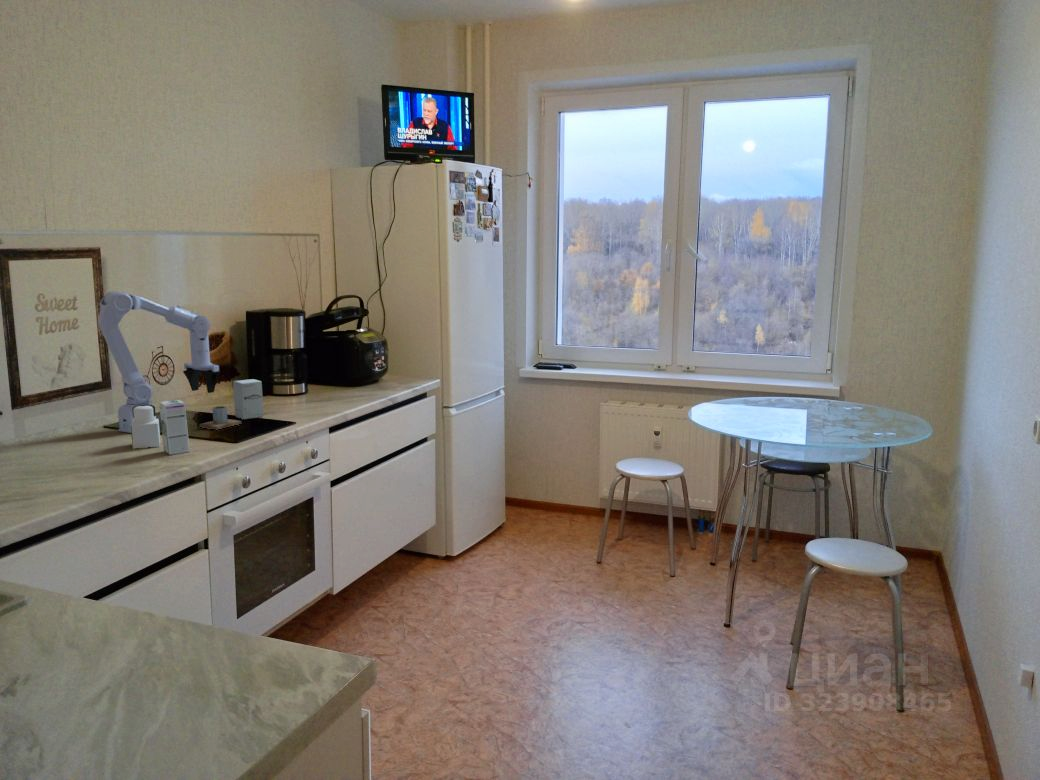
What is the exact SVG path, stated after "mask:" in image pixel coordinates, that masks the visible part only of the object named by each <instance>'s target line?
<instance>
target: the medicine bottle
mask: <svg viewBox="0 0 1040 780" xmlns="http://www.w3.org/2000/svg"><path fill="white" fill-rule="evenodd" d="M132 413H133V421H132V424H131V433H130V434H131V444H132V449H133V450H136V449H135V448H139V449H148V447H151V448H159V447H160V446H161V432H160V428H159V426H160V421H159V418H157V415H156V414H157V413H156V407H155V405H153V404H152V405H150V404H144V405H137V406H135V407H133V408H132Z"/></svg>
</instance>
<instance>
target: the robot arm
mask: <svg viewBox="0 0 1040 780" xmlns="http://www.w3.org/2000/svg"><path fill="white" fill-rule="evenodd" d="M99 304H100V305H99V307H100V308H99V313H98V320H97V324H98V327H99V329H100V331H101V335H102V336H103V337H104V340H105V342H106V345H107V346H108V349H109V351H110V353H111V355H112V357H113V359H114V362H115V364H116V367H117V368H118V371H119V372H120V375H121V382H122V384H123V393H124V395H125V396H126V401H125V402H126V403H125V404H123V405H120V406H119V408H118V410H117V415H118V425H119V428H118V432H123V433H128V434H131V424H132V421H133V413H132V408H133V407H135V406H137V405H144V404H150V405H153V404H152V399H151V398H152V397H153V395H154V391H153V388H152V386H151V385H150V383H147V382H146V380H145V378H144V376H143V375H142V374H141V373H140V371H139V369H138V367H137V366H138V365H137V364H136V362H135V360H134V358H133V356H132V353H131V352H130V349H129V346H128V344H127V342H126V340H125V337H124V336H123V334H122V331H121V329H120V326H119V324H120V322H121V321H122V319H123V317H124V316H125V315H126V314H127V313H129V312H130V311H131V310H133V311H135V310H136V311H137V310H139V309H140V310H143V311H146V312H149V313H153V314H155V315H159V316H162V317H163V318H164V319H165V321H166V322H167V323H169V324H172V325H174V326H177V327H180V328H183V329H187V330H188V331H189V344H190V359H191V362H184V363H183V371H182V373H183V374H184V376H185V377H186V379H187V382H188V383H189V385H190V389H191V391H192V392H196V391H199V388H200V385H199V383H200V381H199V379H200V374H201V371H203V372H202V375H203V377H204V380H205V384H206V386H205V387H206V391H207V393H209V394H210V393H214V392H215V389H216V383H217V380H218V378H219V375H221V371H220V366H219V365H218V364H214V363H212V362H211V355H210V342H209V330H210V329H211V322H210V320H209V319H208V318H207V317H206V316H204V315H200V314H197V313H196V311H193V310H192V311H189V310H186V309H184V308H183V307H182V305H171V306H168V307H167V306H164V305H162V304H159V303H157V302H155V301H152V300H150V299H147V298H145V297H142V296H139V295H134V294H129V293H126V292H120V291H119V292H118V291H115V290H113V291H108V292H106V293H105V294H104V296H103V298H102V299H101V300H100V302H99ZM160 427H161V426H160V425H159V429H160Z"/></svg>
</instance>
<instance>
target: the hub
mask: <svg viewBox="0 0 1040 780" xmlns="http://www.w3.org/2000/svg"><path fill="white" fill-rule="evenodd" d="M227 408H228V406H224V405H221V406H220V405H219V406H214V407H212V417H213V418H212V419H213V420H212V421H213V422H214V424H224V423H227V422H228V419H229V418H228V409H227Z"/></svg>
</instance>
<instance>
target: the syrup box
mask: <svg viewBox="0 0 1040 780" xmlns="http://www.w3.org/2000/svg"><path fill="white" fill-rule="evenodd" d="M158 403H159V414H160V415H159V416H160V424H161V432H162V434H161V435H162V436H161V437H162V443H163V446H162V447H163V451H164V452H165V453H166V454H168V455H170V456H173V455H178V454H185V453H189V452H190V441H189V432H188V422H187V421H188V420H187V414H186V413H187V412H186V403H185V402H183V400H181V399H172V400H165V401H159V402H158Z"/></svg>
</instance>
